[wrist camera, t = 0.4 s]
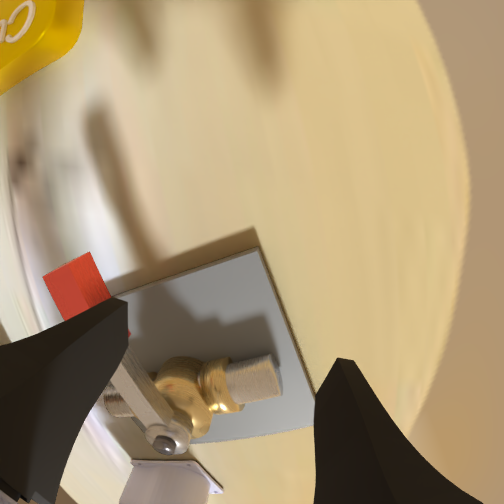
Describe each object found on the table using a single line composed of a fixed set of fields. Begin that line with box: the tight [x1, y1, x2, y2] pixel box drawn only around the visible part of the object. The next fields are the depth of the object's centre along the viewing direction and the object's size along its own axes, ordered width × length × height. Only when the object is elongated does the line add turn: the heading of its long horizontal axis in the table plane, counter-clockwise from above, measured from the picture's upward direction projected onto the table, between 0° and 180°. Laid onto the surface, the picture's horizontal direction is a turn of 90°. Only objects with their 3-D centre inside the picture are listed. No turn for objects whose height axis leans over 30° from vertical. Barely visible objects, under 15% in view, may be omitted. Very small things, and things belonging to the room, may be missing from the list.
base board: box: [107, 247, 315, 444], centre depth 22 cm, size 17×16×1 cm
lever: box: [43, 252, 194, 455], centre depth 15 cm, size 13×3×2 cm, turn 21°
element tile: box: [0, 0, 84, 95], centre depth 12 cm, size 15×15×5 cm
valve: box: [104, 354, 283, 439], centre depth 20 cm, size 14×5×5 cm, turn 111°
